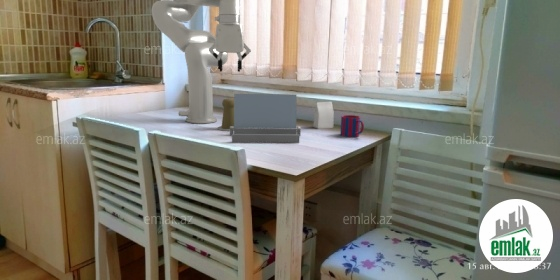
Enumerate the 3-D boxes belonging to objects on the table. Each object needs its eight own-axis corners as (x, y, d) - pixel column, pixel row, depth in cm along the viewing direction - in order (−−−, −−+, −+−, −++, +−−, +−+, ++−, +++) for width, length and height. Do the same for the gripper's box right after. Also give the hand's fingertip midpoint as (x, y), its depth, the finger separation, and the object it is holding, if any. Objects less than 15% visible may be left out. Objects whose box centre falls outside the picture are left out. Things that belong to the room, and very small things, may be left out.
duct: (230, 134, 147) (230, 126, 146) (299, 134, 148) (300, 126, 147) (227, 142, 135) (227, 133, 134) (303, 142, 136) (303, 133, 135)
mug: (352, 132, 153) (353, 114, 152) (368, 138, 144) (369, 119, 143) (336, 134, 151) (337, 115, 149) (352, 139, 142) (353, 120, 140)
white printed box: (333, 127, 162) (334, 102, 160) (318, 128, 160) (319, 103, 157) (328, 125, 166) (329, 101, 163) (313, 127, 163) (314, 101, 161)
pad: (215, 131, 152) (215, 130, 152) (218, 125, 161) (218, 125, 161) (243, 131, 152) (243, 130, 152) (244, 126, 162) (244, 125, 162)
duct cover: (234, 127, 146) (234, 127, 147) (296, 128, 147) (296, 128, 148) (234, 93, 146) (234, 94, 147) (296, 94, 147) (296, 94, 148)
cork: (235, 129, 154) (234, 100, 151) (219, 128, 155) (218, 99, 152) (239, 126, 159) (239, 98, 157) (224, 125, 160) (223, 97, 158)
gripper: (203, 19, 144) (205, 71, 148) (253, 20, 145) (253, 72, 149) (206, 20, 151) (207, 70, 155) (253, 21, 152) (253, 71, 156)
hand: (230, 71), depth 152 cm, fingers open, 5 cm apart
